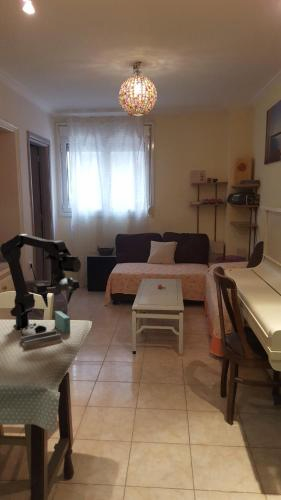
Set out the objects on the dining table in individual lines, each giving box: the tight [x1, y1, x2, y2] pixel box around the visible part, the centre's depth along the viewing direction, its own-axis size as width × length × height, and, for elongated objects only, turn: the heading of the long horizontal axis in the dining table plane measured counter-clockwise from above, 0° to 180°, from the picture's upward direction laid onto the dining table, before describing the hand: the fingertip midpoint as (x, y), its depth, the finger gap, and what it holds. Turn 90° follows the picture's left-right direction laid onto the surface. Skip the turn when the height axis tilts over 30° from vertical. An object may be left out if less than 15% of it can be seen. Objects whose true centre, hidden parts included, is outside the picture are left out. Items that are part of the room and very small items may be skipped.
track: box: [18, 329, 64, 351], centre depth 151 cm, size 9×15×3 cm, turn 124°
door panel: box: [54, 310, 71, 335], centre depth 165 cm, size 12×2×7 cm, turn 34°
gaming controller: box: [21, 323, 47, 337], centre depth 160 cm, size 11×6×7 cm
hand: (57, 305), depth 159 cm, fingers open, 9 cm apart
